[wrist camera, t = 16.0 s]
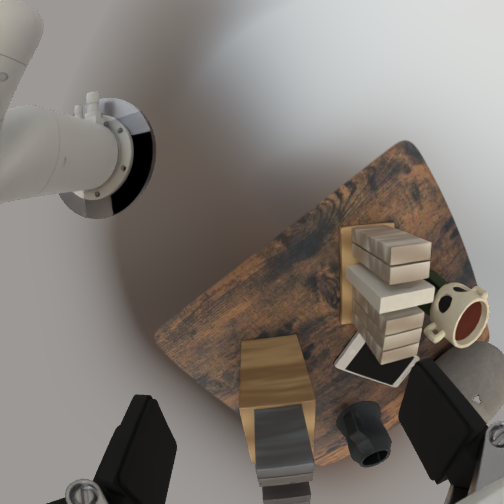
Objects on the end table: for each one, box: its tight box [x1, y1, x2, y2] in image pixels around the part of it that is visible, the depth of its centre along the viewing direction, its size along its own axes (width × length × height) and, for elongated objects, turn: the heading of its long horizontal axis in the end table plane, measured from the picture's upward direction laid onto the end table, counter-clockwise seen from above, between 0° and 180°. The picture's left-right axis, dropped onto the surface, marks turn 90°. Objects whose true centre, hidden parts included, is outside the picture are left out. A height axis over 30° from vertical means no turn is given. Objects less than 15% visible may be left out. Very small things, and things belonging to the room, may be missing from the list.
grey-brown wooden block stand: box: [339, 222, 431, 365], centre depth 31 cm, size 14×8×12 cm, turn 6°
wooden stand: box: [239, 335, 316, 504], centre depth 30 cm, size 12×8×22 cm, turn 6°
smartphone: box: [334, 331, 420, 387], centre depth 41 cm, size 7×16×1 cm, turn 62°
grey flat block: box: [346, 264, 435, 314], centre depth 31 cm, size 2×7×11 cm, turn 96°
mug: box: [336, 401, 392, 467], centre depth 39 cm, size 12×9×11 cm
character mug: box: [418, 271, 489, 349], centre depth 32 cm, size 11×7×13 cm, turn 123°
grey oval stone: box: [435, 341, 504, 423], centre depth 33 cm, size 18×7×19 cm, turn 132°
